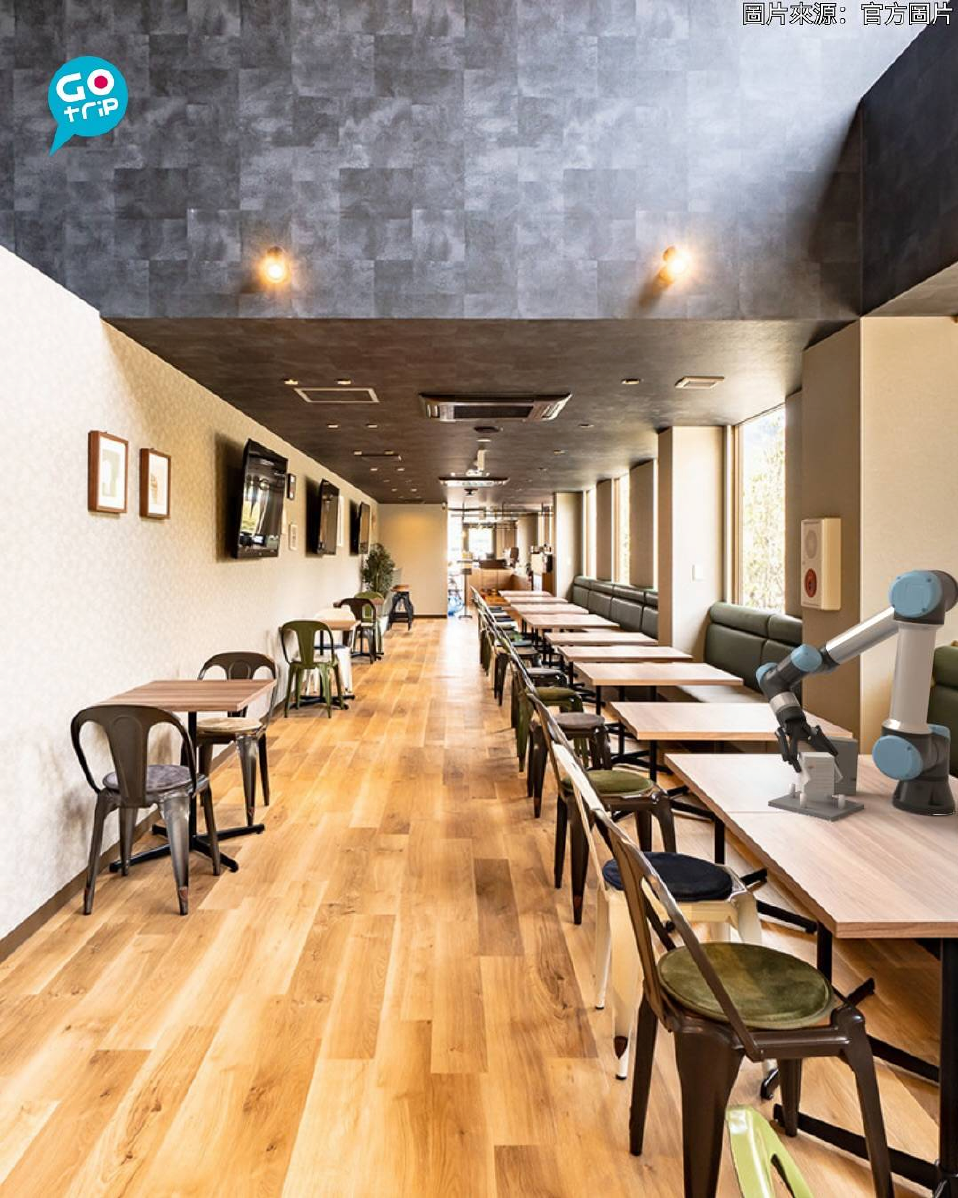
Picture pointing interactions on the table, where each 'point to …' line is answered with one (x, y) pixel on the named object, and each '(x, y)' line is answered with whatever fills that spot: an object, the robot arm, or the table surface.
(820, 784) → the small box
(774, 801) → the pin tray
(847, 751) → the skincare box
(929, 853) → the table surface
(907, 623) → the robot arm
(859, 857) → the table surface
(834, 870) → the table surface
